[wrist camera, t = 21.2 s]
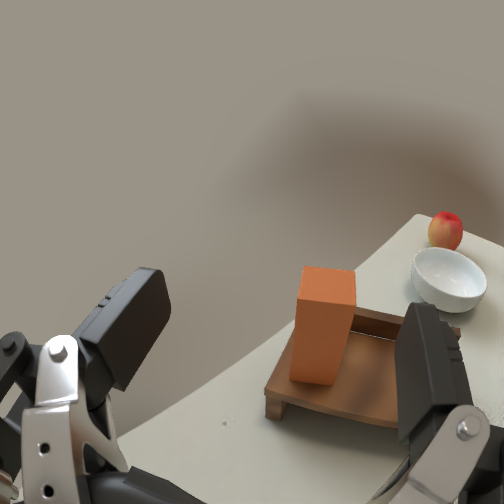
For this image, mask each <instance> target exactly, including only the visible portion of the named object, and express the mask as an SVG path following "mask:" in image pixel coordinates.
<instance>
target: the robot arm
mask: <svg viewBox="0 0 504 504" xmlns="http://www.w3.org/2000/svg"><path fill="white" fill-rule="evenodd" d="M170 314H171V303H170V299H169V296H168V291H167V287H166V283H165V278H164V275H163V272H162V271H161V270H156V269H151V268H144V267H140V268H138V269H137V270H136V271H135V272H134V273H133V274H132V275H131V276H130V278H129V279H125V280H124V281H122V282H121V283H119V284H117V285H116V286H114V287H113V288H112V289H111V290H110V292H109V293H108V294H107V295H106V296H105V299H102V300H101V302H100V303H99V304H98V307H97V306H96V307H95V308H94V309H93V311H92V312H91V313H90V314H89V315H88V316H87V318H86V319H85V320H84V321H83V322H82V323H81V325H80V326H79V327H78V328H77V329H76V330H75V332H74V333H73V334H72V335H71V336H68V335H60V336H56V337H54V338H52V339H50V340H49V341H48V342H47V343H46V344H45V345H32V344H29V343H28V341H27V340H26V338H25V336H24V335H23V334H22V333H20V332H11V333H8V334H6V335H5V336H4V337H2V338H1V339H0V403H1V401H2V400H3V398H4V397H5V395H6V394H7V392H8V391H9V389H10V388H11V386H12V385H13V383H14V382H15V383H16V384H17V385H18V386H19V388H20V389H21V390H22V393H21V394H20V396H19V397H18V399H17V400H16V402H15V404H14V405H13V407H12V408H11V410H10V411H9V413H8V415H7V416H6V417H5V418H3V419H2V418H1V417H0V504H10V499H13V500H16V499H17V498H18V497H19V490H18V488H17V487H15V486H14V485H13V482H14V480H15V478H16V476H17V474H18V472H19V471H20V469H22V485H23V496H24V501H21V502H18V503H14V504H206V503H204V502H202V501H201V500H199V499H197V498H195V497H194V496H192V495H190V494H189V493H187V492H185V491H184V490H182V489H181V488H179V487H177V486H176V485H174V484H173V483H171V482H170V481H168V480H165V479H163V478H160V477H157V476H155V475H152V474H150V473H148V472H145V471H143V470H140V469H138V468H136V467H134V466H132V467H131V469H130V471H129V470H128V466H127V463H126V460H125V458H124V456H123V454H122V452H121V451H120V448H119V446H118V443H117V438H116V433H115V427H114V421H113V414H112V407H111V399H110V396H109V394H108V392H109V391H110V389H111V388H112V387H113V388H115V389H118V390H120V391H123V392H124V391H125V389H126V387H127V386H128V385H129V383H130V381H131V380H132V378H133V376H134V375H135V373H136V371H137V370H138V368H139V367H140V365H141V363H142V362H143V360H144V359H145V357H146V355H147V354H148V352H149V351H150V349H151V348H152V346H153V344H154V342H155V341H156V339H157V338H158V336H159V335H160V333H161V332H162V330H163V329H164V327H165V325H166V324H167V322H168V320H169V318H170ZM459 348H460V347H459V344H458V340H457V337H456V334H455V332H454V331H453V330H452V328H451V327H450V326H449V324H448V323H447V322H441V321H440V319H439V316H438V313H437V309H436V307H435V305H434V304H426V303H414V302H412V303H411V304H410V305H409V307H408V310H407V312H406V315H405V317H404V320H403V323H402V325H401V328H400V330H399V333H398V335H397V338H396V341H395V347H394V361H395V373H396V388H397V410H398V445H410V454H409V455H408V456H407V457H406V459H405V460H404V461H403V462H402V464H401V465H400V466H399V467H398V468H397V470H396V471H395V472H394V473H393V474H392V476H391V477H390V478H389V479H388V480H387V481H386V483H385V484H384V485H383V486H382V487H381V488H380V489H379V490H378V491H377V492H376V494H375V495H374V496H373V497H372V498H371V499H370V500H369V501H368V502H367V503H366V504H453V503H454V501H455V499H456V498H457V496H458V494H459V498H458V504H501V486H502V504H504V428H501V427H497V426H493V425H490V424H489V420H488V418H487V416H486V415H485V414H484V413H483V411H482V410H480V409H479V408H477V407H475V406H474V405H473V401H472V396H471V391H470V387H469V382H468V378H467V374H466V370H465V366H464V362H462V360H463V358H462V354H461V351H460V350H459Z"/></svg>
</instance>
